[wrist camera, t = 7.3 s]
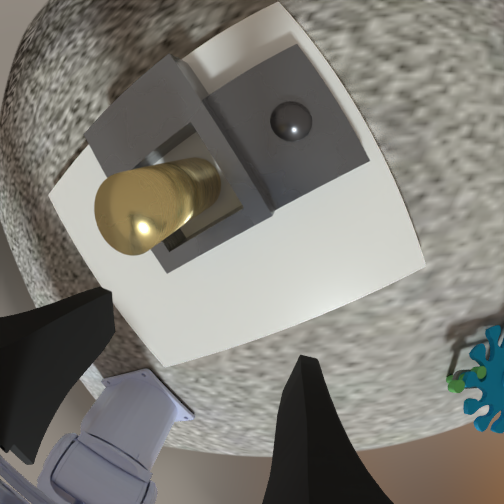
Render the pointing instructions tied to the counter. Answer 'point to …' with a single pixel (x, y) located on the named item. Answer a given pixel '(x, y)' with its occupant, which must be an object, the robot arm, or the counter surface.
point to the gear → (484, 382)
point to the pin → (153, 202)
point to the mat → (252, 228)
